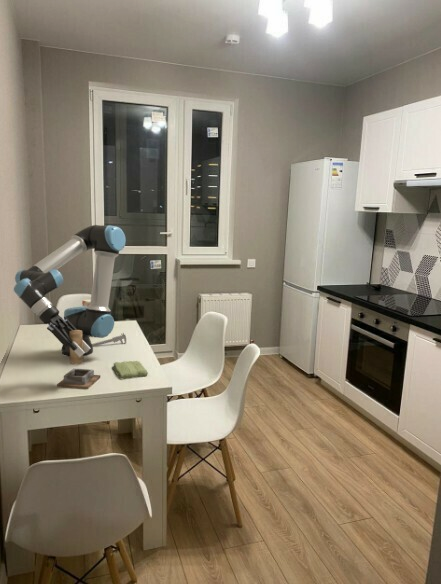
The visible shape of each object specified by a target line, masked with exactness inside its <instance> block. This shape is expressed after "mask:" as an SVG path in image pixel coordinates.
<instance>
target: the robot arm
mask: <svg viewBox="0 0 441 584" xmlns="http://www.w3.org/2000/svg"><path fill="white" fill-rule="evenodd" d="M126 240H127V239H126V235H125V233H124V231H123V230H122V228H120V227H119V226H115V225H104V224H103V225H102V224H101V225H98V224H93V225H89V226H87V227H84V228H83V229H81V230H79V231H77V232H76V233H75V234H73V235H71V237H70V239H69V240H68V241H67V242H65V243H64V244H63V245H61V246H60V247H58V248H57V249H55V250H54V251H53V252H51V253H50V254H48V255H47V256H46V257H44V258H41V260H39V261H38V262H36V263H35V264H34V265H32V266H31V267H30V268H28V269H21V270H19V271H17V272H16V274H15V276H14V280H15V283H16V284H15V285H14V287H13V292H14V293H15V294H16V295H17V296H18V298H19V299H20V300H21V301H22V302H23V303H24V304H25V305H26V306H27V307H28V308H29V309H30V310H31V311H32V313H33V314H35V315H36V317H39V320H40V321H41V322H42V323H43V324H45V325H47V324H48V326H47V327H46V329H47V330H48V331H49V332H50V333H51V334H52V335H53V336H54V338H56V339H57V340H58V341H59V342H60V343H61V345H62V347H61V350H60V351H61V354H62V355H63V356H66V357H70V348H71V349H72V350H73V351H74V352H75V353H76V354H77V355H78V356H79V357H81V356H82V355H83V357H84V356H88V355H91V354H92V353H93V352H94V347H93V346H92V344H93V343H92V341H91V338H90V337H93V338H100V339H103V338H106V337H108V336H109V335H110V334H111V333H112V332H113V329H114V327H115V319H114V317H113V316H112V315H111V313H112V310H111V309H110V307H109V302H110V295H111V289H112V281H113V274H114V268H115V267H114V266H115V260H116V258H117V257H119V255H120V251H122V250H124V248H125V246H126ZM93 249H94V251H93V252H94V253H95V255H96V259H95V266H94V267H95V268H94V274H93V280H92V289H91V294H90V299H91V301H90V305H89V306H88V307H86V306H83V305H82V306H75V307H74V306H73V307H68V308H66V309H65V310H64V313H63V317H62V316H61V315H60V310H59V309H58V308H57V307H56V306H55V305H53V303H52V302H51V301H50V300H49V298H47V297H46V295H47V294H49V293H50V292H52V291H54V290H55V289H57V288H58V287H60V286H61V285H62V284H63V283H64V278H63V274H62V273H61V272H60V271H59V269H61V268H62V267H63V266H65V265H66V264H67V263H68V262H70V261H71V260H72V259H74V258H75V257H77V256H78V255H80V254H84V253H86V252H87V251H89V250H93ZM72 330H81V331H82V341H83V350H82V349H81V348H80V347H79V346H78V345H77V344H76V342H75V341H73V342H72V340H71V339H70V337H69V331H72Z"/></svg>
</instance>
